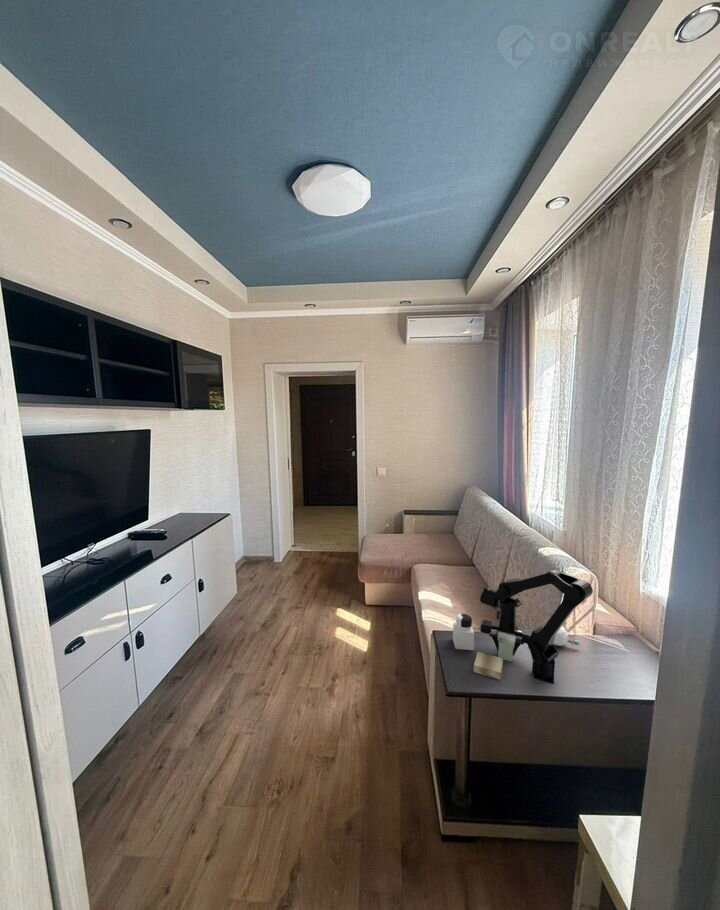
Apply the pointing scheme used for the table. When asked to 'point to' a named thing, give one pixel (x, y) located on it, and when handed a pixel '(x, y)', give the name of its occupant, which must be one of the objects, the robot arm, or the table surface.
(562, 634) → the perfume bottle
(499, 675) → the oak slab
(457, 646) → the medicine bottle
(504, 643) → the green block
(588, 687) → the table surface
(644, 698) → the table surface
